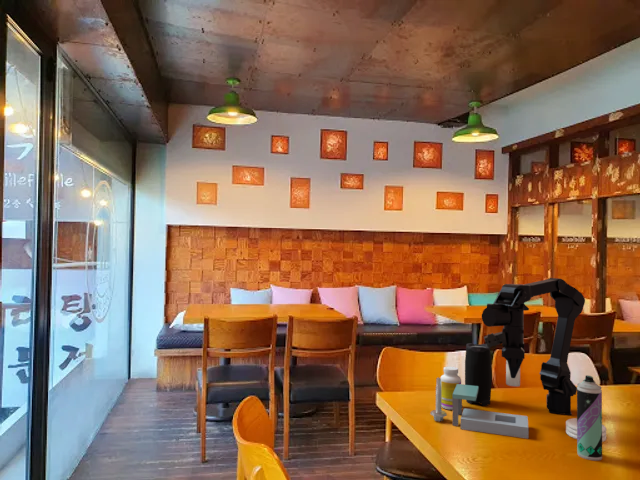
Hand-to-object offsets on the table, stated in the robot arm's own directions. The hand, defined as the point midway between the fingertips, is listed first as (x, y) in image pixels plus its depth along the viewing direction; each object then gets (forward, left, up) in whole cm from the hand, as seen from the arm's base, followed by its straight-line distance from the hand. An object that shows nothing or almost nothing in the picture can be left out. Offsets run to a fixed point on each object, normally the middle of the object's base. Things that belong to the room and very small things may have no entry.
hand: (513, 376), depth 146 cm
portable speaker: (+11, -14, -14) cm, 22 cm away
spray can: (-18, +20, -14) cm, 30 cm away
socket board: (+5, +9, -13) cm, 17 cm away
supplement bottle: (+19, -5, -14) cm, 24 cm away
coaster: (-19, +5, -14) cm, 24 cm away
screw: (+21, +9, -14) cm, 27 cm away
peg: (0, 0, -3) cm, 2 cm away
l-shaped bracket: (+13, +6, -13) cm, 20 cm away
